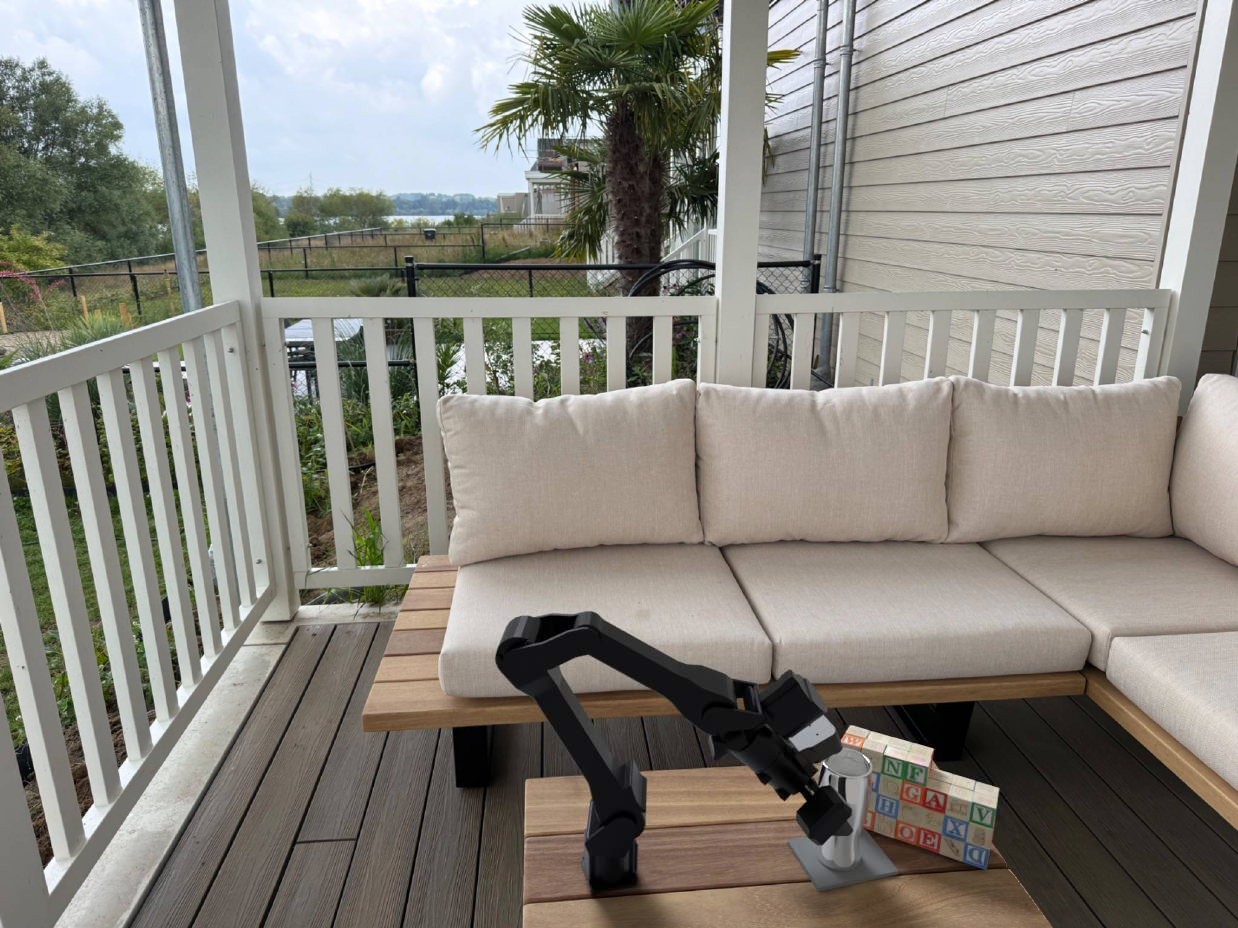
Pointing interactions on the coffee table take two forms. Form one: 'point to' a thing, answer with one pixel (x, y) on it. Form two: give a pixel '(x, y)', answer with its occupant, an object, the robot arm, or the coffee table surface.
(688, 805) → the coffee table surface
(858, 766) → the chrome tapered cup
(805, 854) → the charcoal mat
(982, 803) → the stack of blocks
